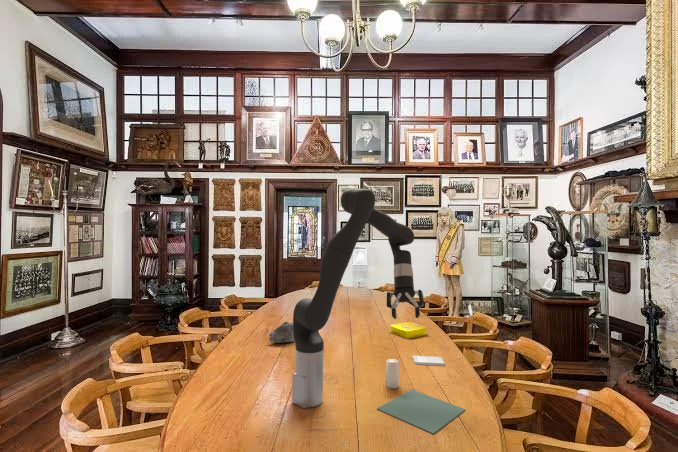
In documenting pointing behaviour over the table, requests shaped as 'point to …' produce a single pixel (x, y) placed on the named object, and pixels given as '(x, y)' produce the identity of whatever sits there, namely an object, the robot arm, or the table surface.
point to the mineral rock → (282, 333)
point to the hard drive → (428, 360)
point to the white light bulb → (392, 373)
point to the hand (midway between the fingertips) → (406, 318)
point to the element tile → (408, 329)
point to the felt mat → (421, 411)
